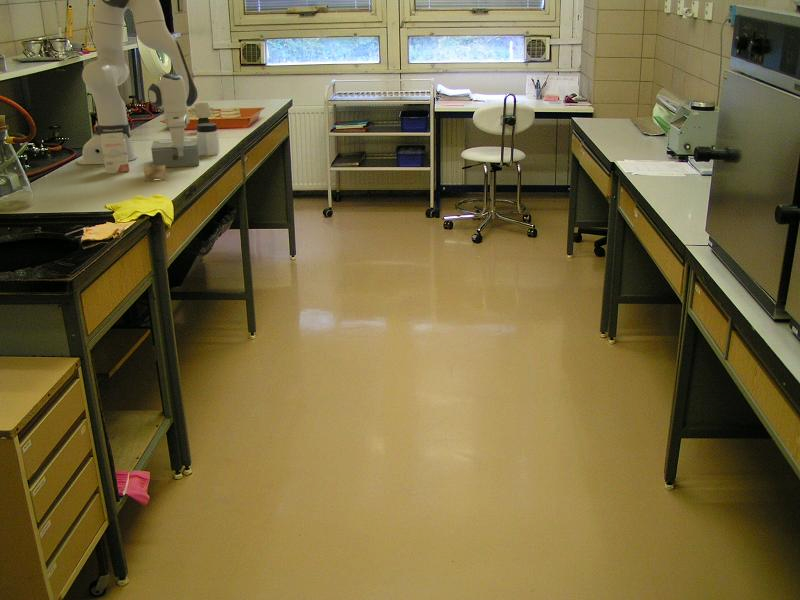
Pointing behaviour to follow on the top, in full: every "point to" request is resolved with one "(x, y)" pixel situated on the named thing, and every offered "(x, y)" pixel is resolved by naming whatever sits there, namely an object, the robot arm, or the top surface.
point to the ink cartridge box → (114, 153)
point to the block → (155, 172)
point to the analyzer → (169, 145)
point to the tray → (175, 157)
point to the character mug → (202, 112)
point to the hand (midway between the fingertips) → (181, 155)
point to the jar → (208, 139)
